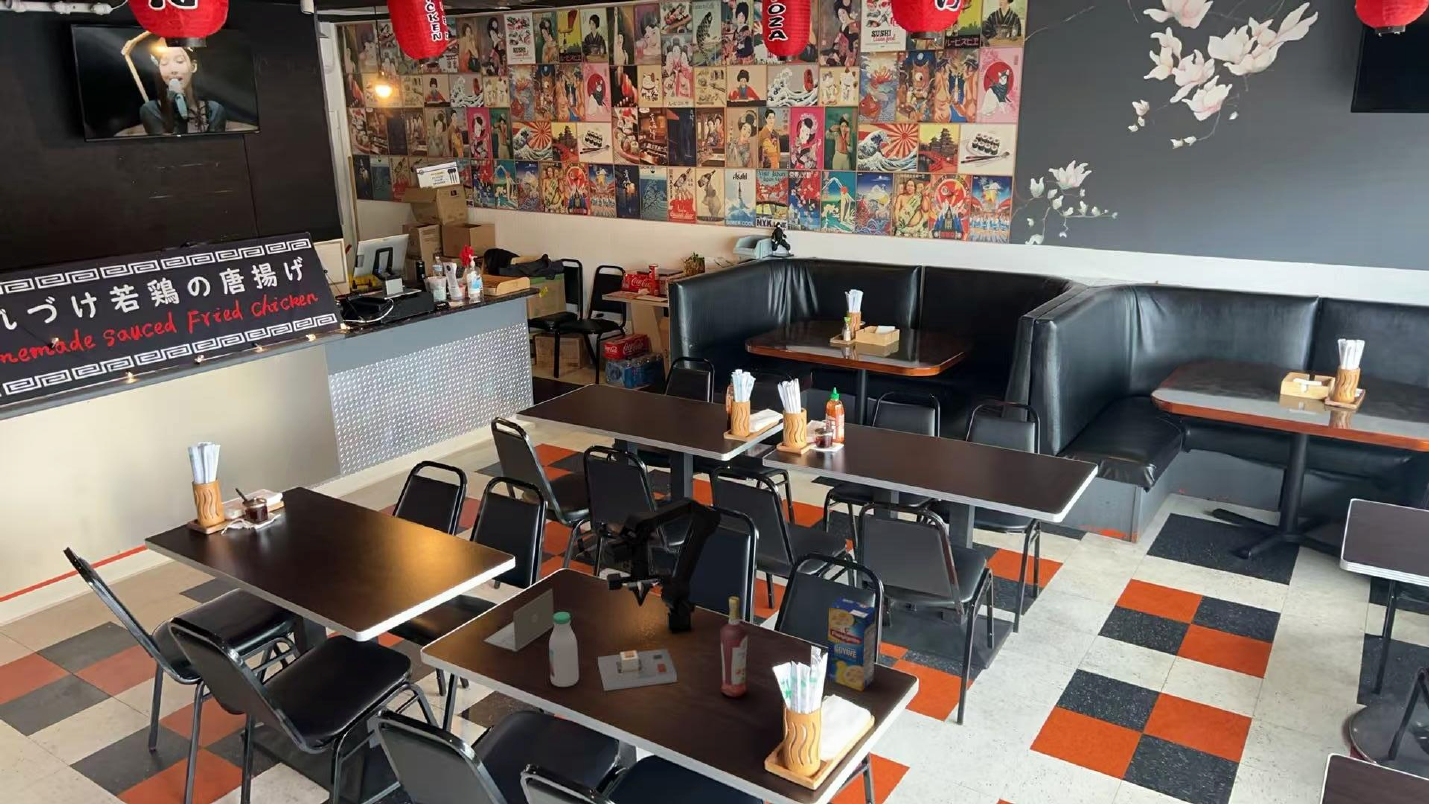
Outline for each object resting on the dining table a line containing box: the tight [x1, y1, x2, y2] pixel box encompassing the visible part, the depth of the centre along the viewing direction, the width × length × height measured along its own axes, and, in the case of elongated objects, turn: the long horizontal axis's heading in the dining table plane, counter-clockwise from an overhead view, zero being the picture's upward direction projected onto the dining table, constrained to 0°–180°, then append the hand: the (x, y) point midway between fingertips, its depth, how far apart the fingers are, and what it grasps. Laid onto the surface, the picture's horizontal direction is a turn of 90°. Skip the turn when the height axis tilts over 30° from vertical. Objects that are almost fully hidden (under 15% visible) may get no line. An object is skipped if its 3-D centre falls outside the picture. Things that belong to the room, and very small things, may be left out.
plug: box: [619, 650, 640, 673], centre depth 283 cm, size 4×4×7 cm
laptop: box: [483, 588, 555, 652], centre depth 305 cm, size 18×13×13 cm
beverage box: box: [826, 597, 877, 692], centre depth 278 cm, size 7×11×22 cm, turn 54°
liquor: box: [719, 596, 749, 698], centre depth 271 cm, size 7×7×28 cm
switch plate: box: [597, 648, 678, 692], centre depth 284 cm, size 20×14×3 cm
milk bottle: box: [548, 611, 580, 688], centre depth 278 cm, size 8×8×20 cm
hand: (640, 605), depth 298 cm, fingers closed
